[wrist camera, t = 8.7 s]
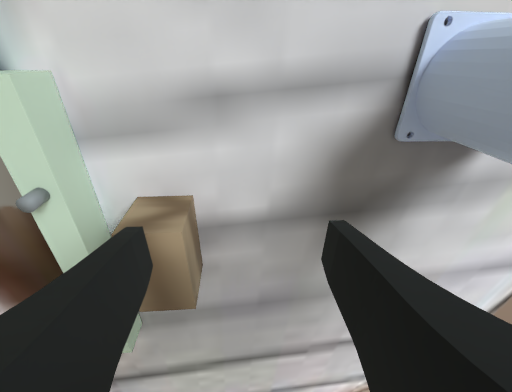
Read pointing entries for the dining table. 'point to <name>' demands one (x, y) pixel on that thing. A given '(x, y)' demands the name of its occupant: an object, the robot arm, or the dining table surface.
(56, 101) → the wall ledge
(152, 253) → the frame block
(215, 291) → the dining table surface
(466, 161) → the dining table surface
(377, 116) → the dining table surface
